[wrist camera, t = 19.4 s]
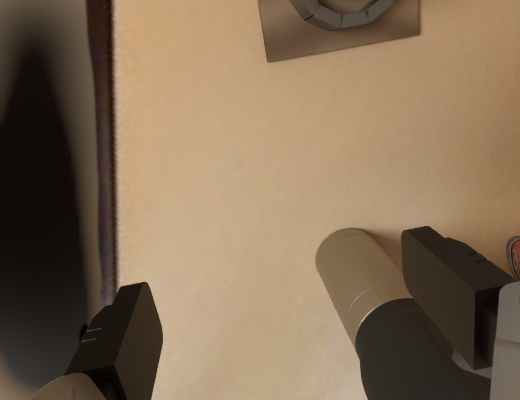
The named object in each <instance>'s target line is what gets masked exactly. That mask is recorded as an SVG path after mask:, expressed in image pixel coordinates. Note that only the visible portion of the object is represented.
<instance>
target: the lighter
mask: <svg viewBox="0 0 520 400" xmlns="http://www.w3.org/2000/svg"><path fill="white" fill-rule="evenodd" d="M506 255H507V261H508V265H509V268H510V270H511V272H512V274H513V276H514V278H515V279H516V280H518V281H519V282H520V236H514V237H512V238H510V239H509V240H508V241H507V243H506Z"/></svg>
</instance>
